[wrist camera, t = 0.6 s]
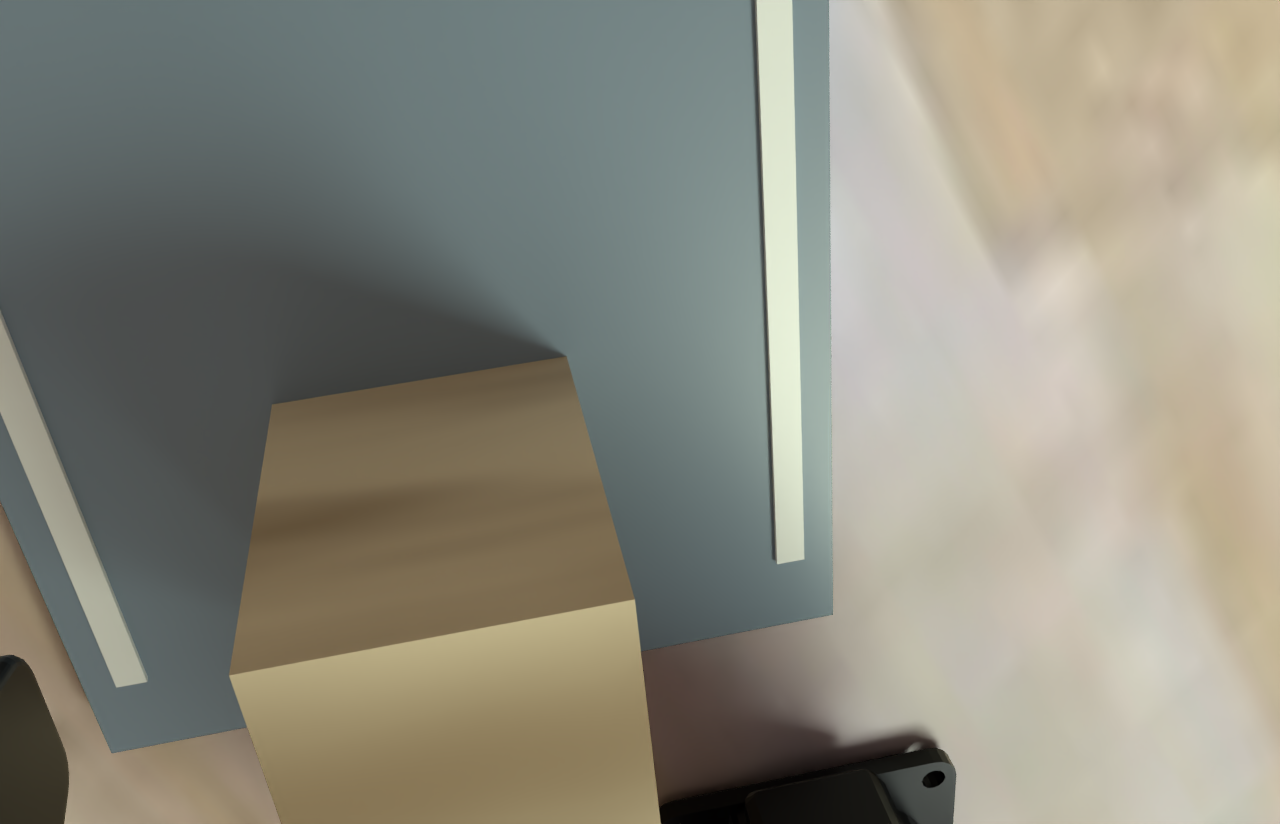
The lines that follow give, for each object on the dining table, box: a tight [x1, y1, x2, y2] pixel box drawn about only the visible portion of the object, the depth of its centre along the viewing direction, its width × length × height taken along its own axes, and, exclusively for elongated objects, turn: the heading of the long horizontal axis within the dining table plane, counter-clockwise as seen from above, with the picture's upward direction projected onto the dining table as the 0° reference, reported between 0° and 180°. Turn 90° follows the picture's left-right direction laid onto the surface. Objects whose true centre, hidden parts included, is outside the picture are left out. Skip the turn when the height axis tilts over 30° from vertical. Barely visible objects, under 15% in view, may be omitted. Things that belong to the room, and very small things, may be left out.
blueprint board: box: [0, 0, 833, 753], centre depth 16 cm, size 23×13×1 cm, turn 5°
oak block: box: [229, 356, 661, 824], centre depth 17 cm, size 4×4×6 cm
